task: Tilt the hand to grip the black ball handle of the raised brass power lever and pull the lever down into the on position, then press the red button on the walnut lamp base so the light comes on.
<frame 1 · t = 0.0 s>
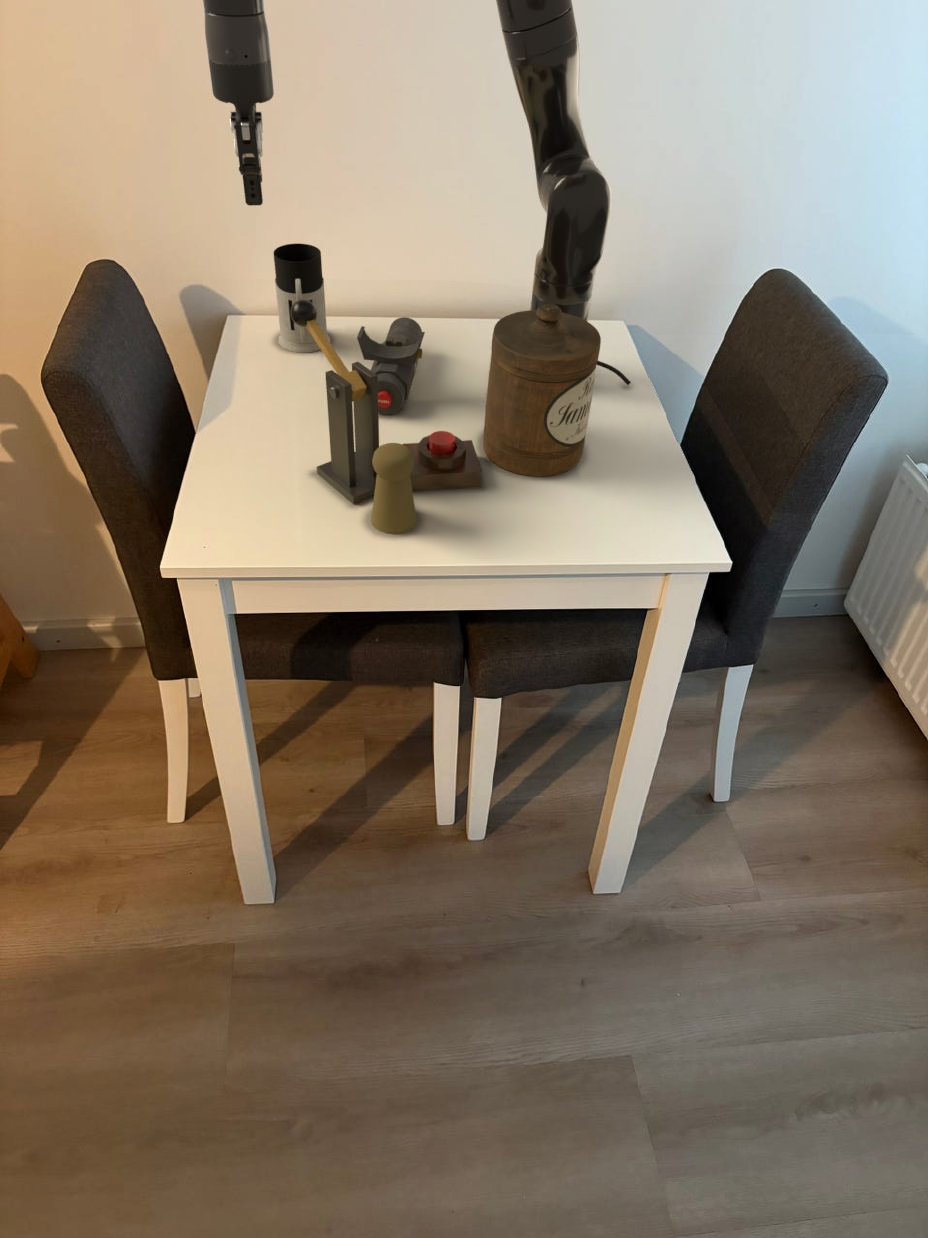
hand: (254, 193, 120), 29 cm above the table, tool pointing down, fingers open, 8 cm apart
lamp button: (442, 443, 122), point 5 cm above the table, slide at 0.1 cm
power lever: (327, 348, 114), point 17 cm above the table, hinge at 28.0°
glass holder: (304, 348, 151), on the table
wooden container: (532, 449, 132), on the table
laser sight: (395, 383, 144), on the table
switch bracket: (356, 480, 123), on the table
lamp base: (440, 473, 126), on the table
tan wooden game pawn: (393, 521, 118), on the table
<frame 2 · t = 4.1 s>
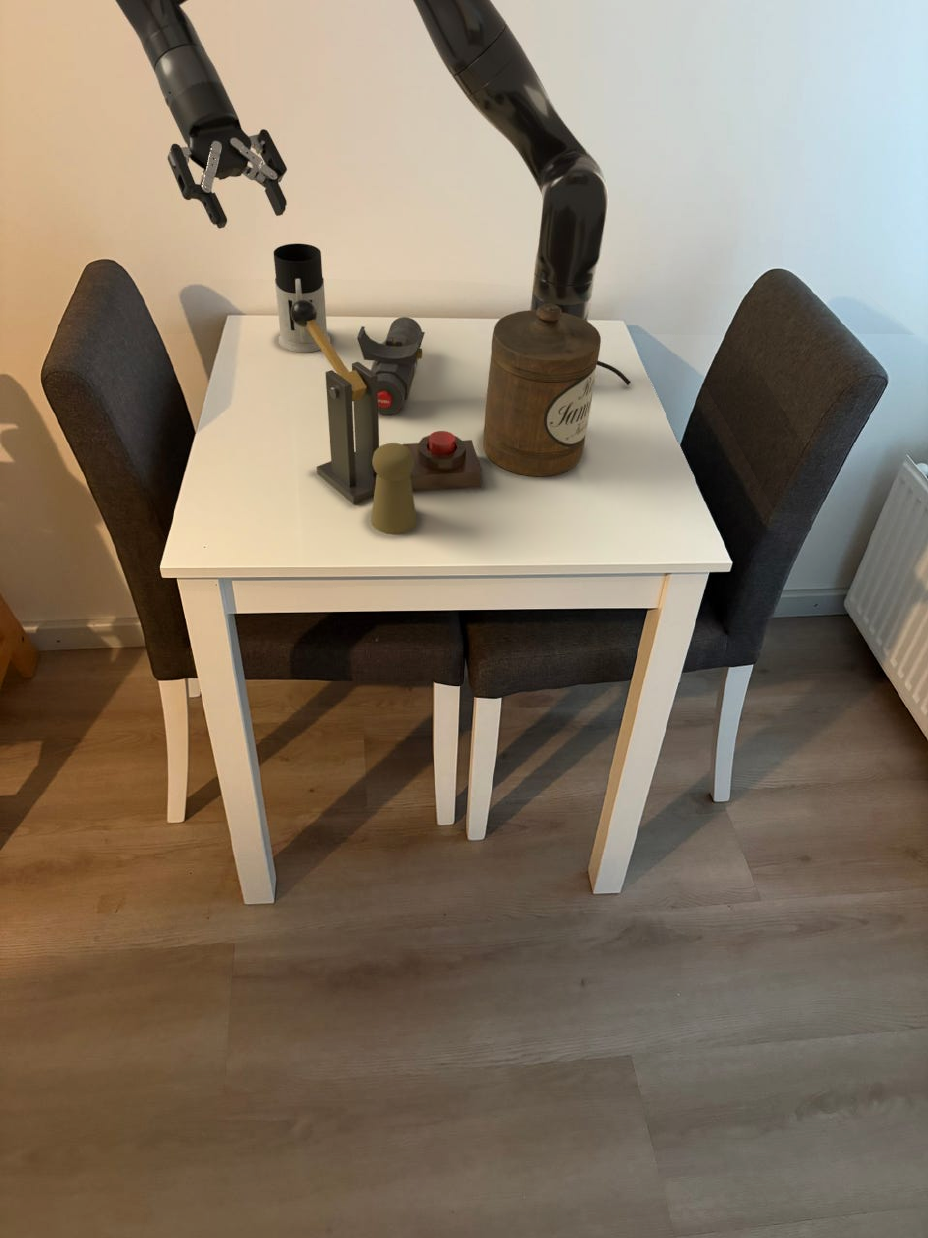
hand: (253, 218, 115), 29 cm above the table, tool tilted 45°, fingers open, 8 cm apart
nothing on the table moved.
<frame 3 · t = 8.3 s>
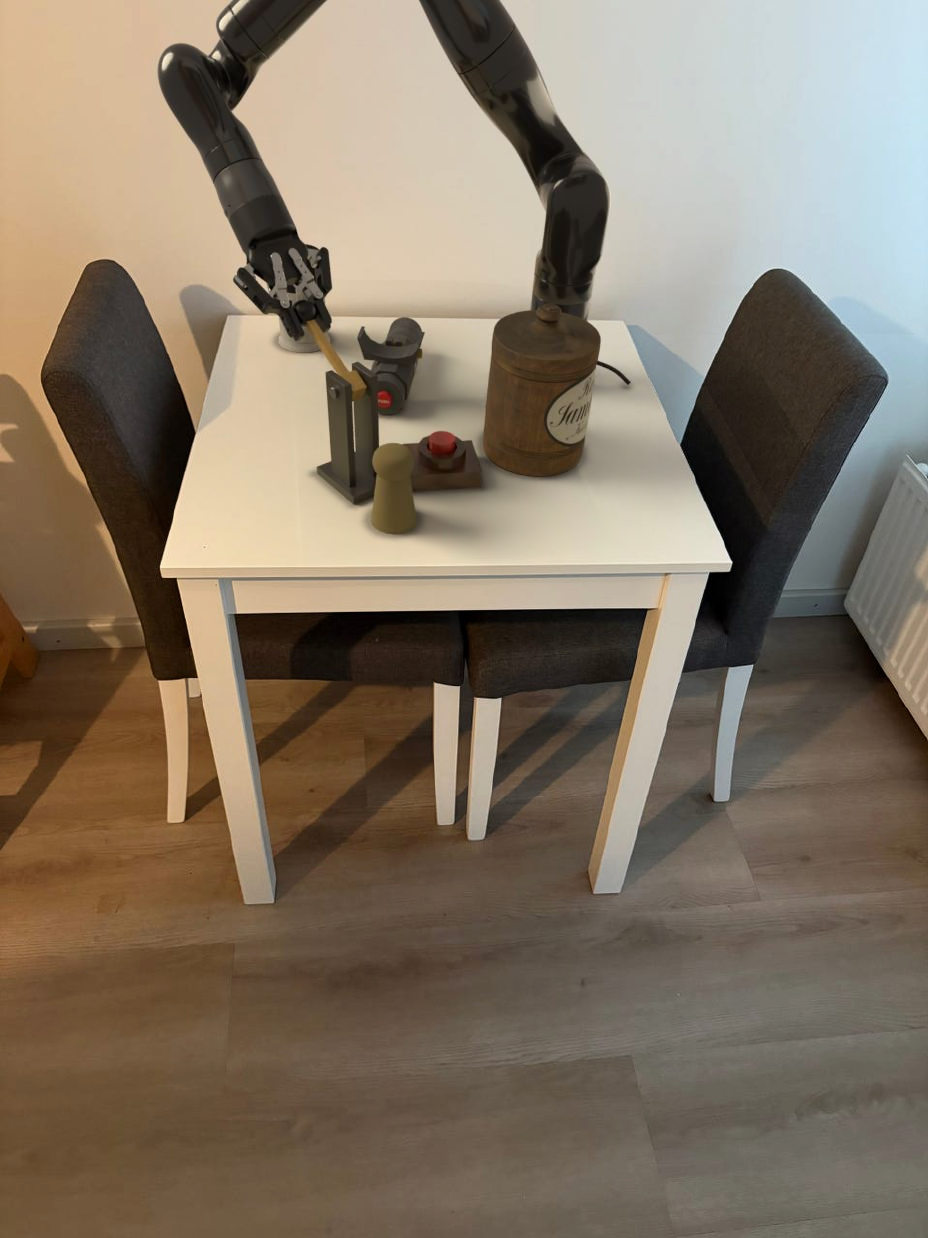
hand: (313, 333, 116), 18 cm above the table, tool tilted 45°, fingers closed on power lever, 3 cm apart
power lever: (327, 348, 114), point 17 cm above the table, hinge at 28.0°, touching gripper
everything else where it was.
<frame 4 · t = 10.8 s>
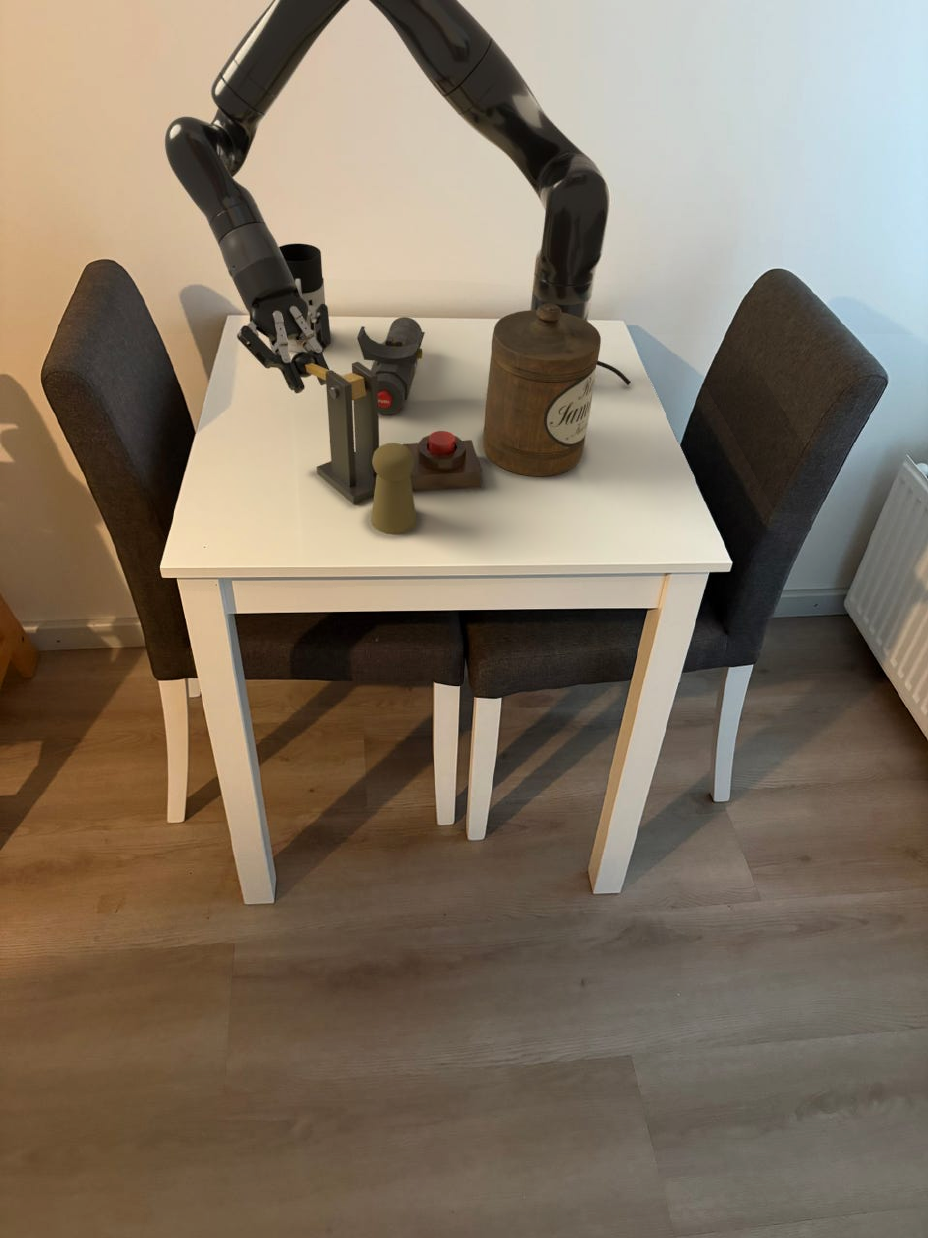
hand: (313, 386, 122), 10 cm above the table, tool tilted 45°, fingers closed on power lever, 3 cm apart
power lever: (326, 374, 117), point 13 cm above the table, hinge at -10.4°, touching gripper
everything else where it was.
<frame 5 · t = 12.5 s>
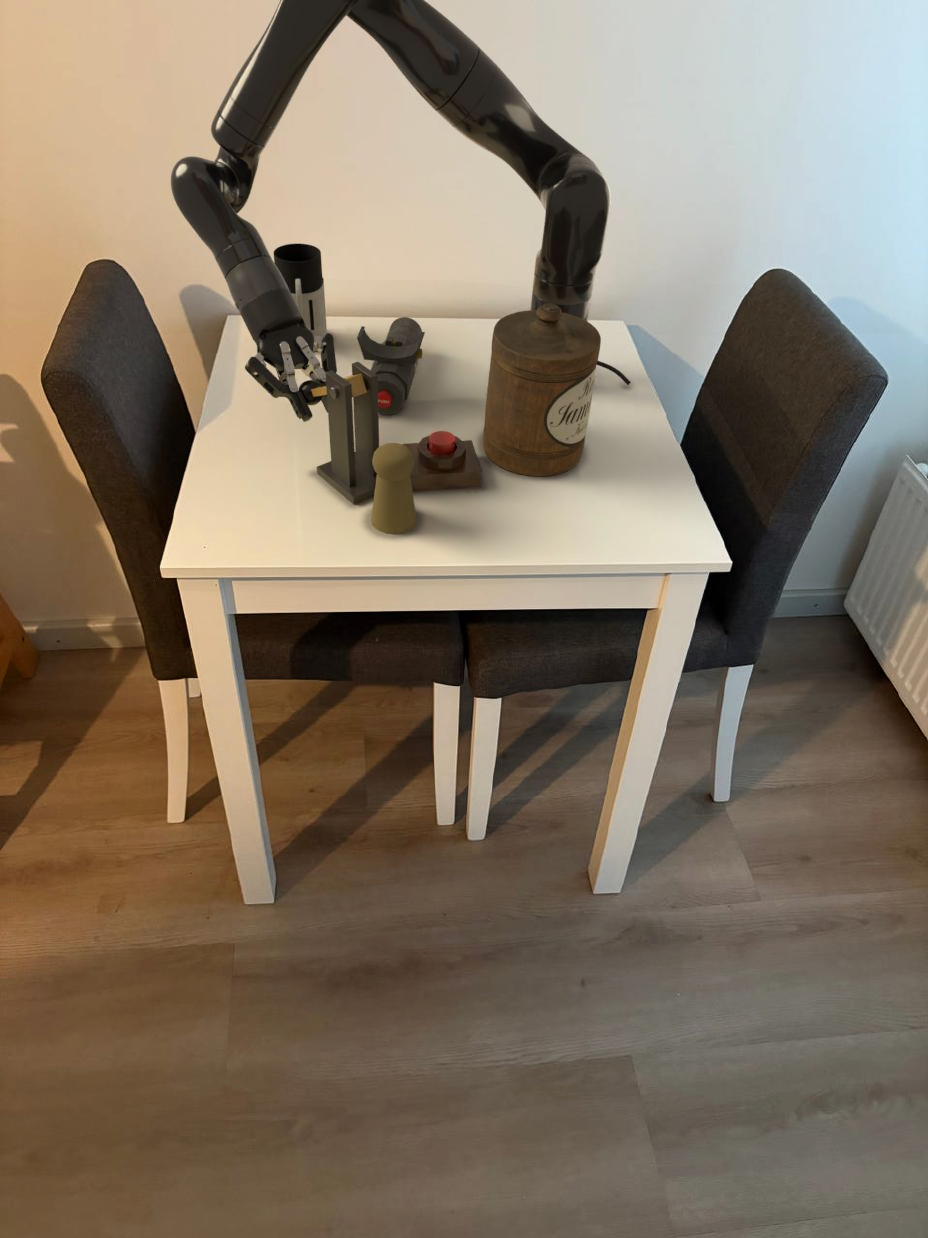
hand: (320, 414, 124), 6 cm above the table, tool tilted 45°, fingers closed on power lever, 3 cm apart
power lever: (329, 389, 118), point 12 cm above the table, hinge at -29.0°, touching gripper
everything else where it was.
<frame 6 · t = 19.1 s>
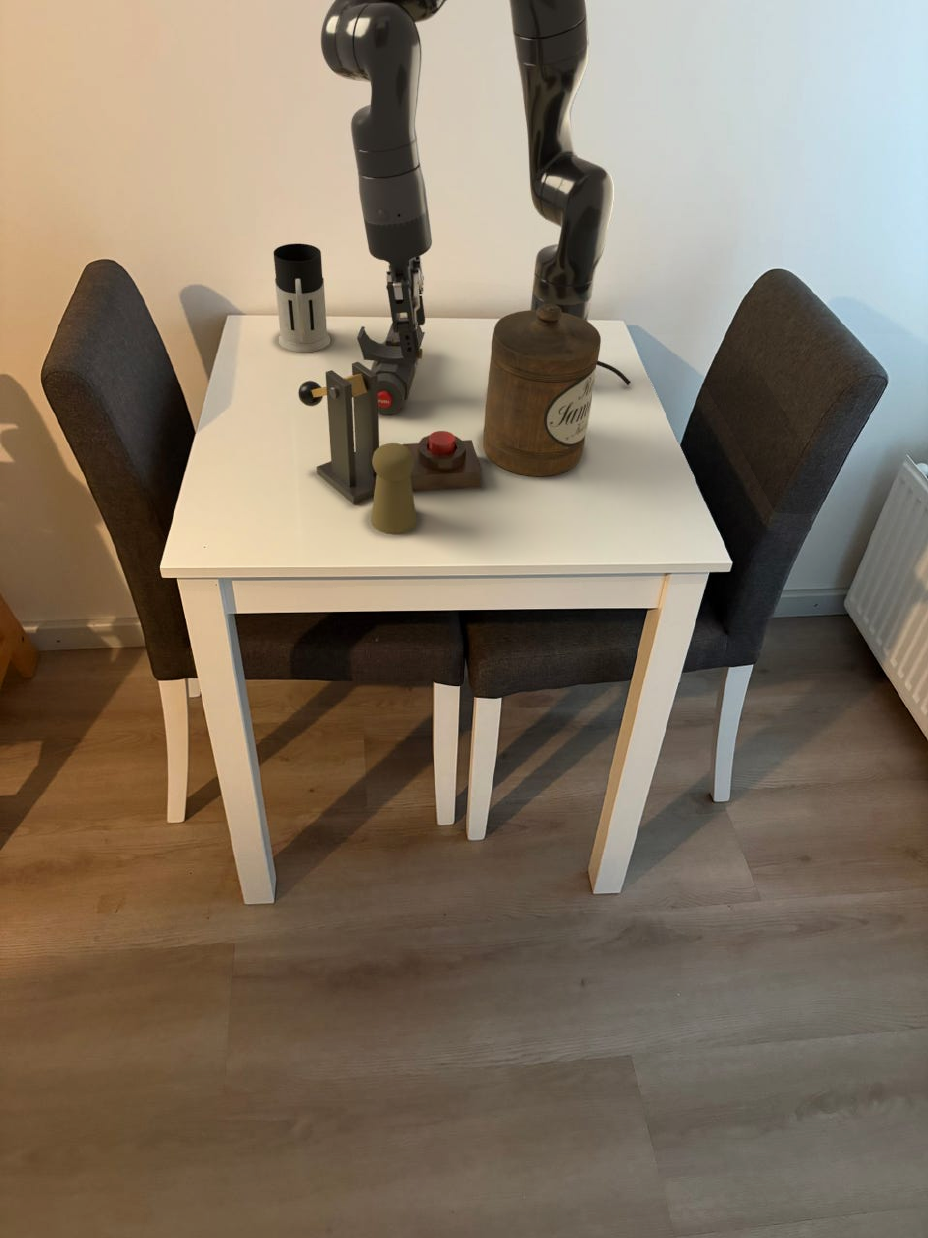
hand: (414, 339, 113), 19 cm above the table, tool pointing down, fingers open, 8 cm apart
power lever: (330, 390, 118), point 11 cm above the table, hinge at -29.5°
everything else where it was.
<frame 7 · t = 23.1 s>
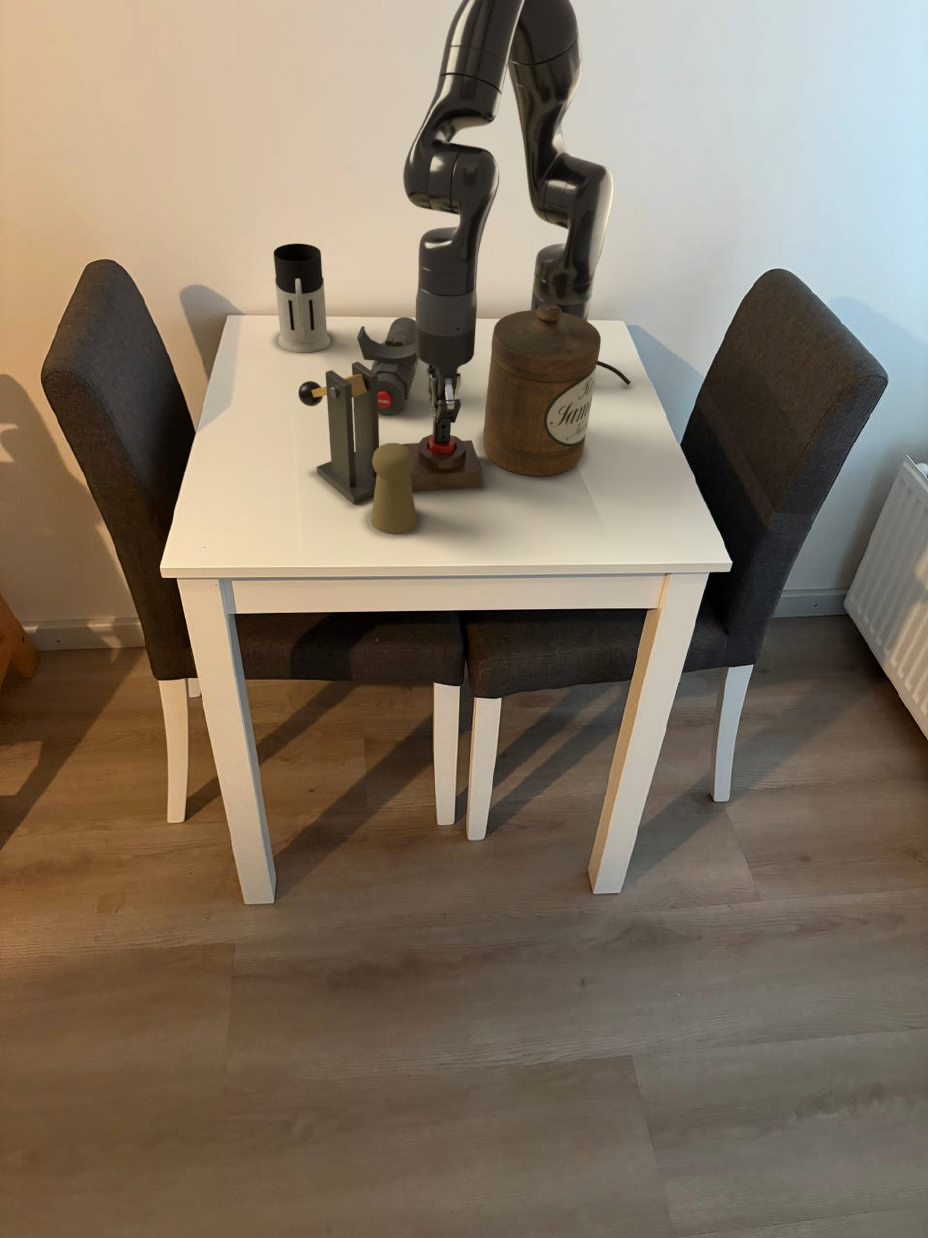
hand: (441, 440, 122), 5 cm above the table, tool pointing down, fingers closed
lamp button: (441, 445, 123), point 5 cm above the table, slide at -0.3 cm, touching gripper
everything else where it was.
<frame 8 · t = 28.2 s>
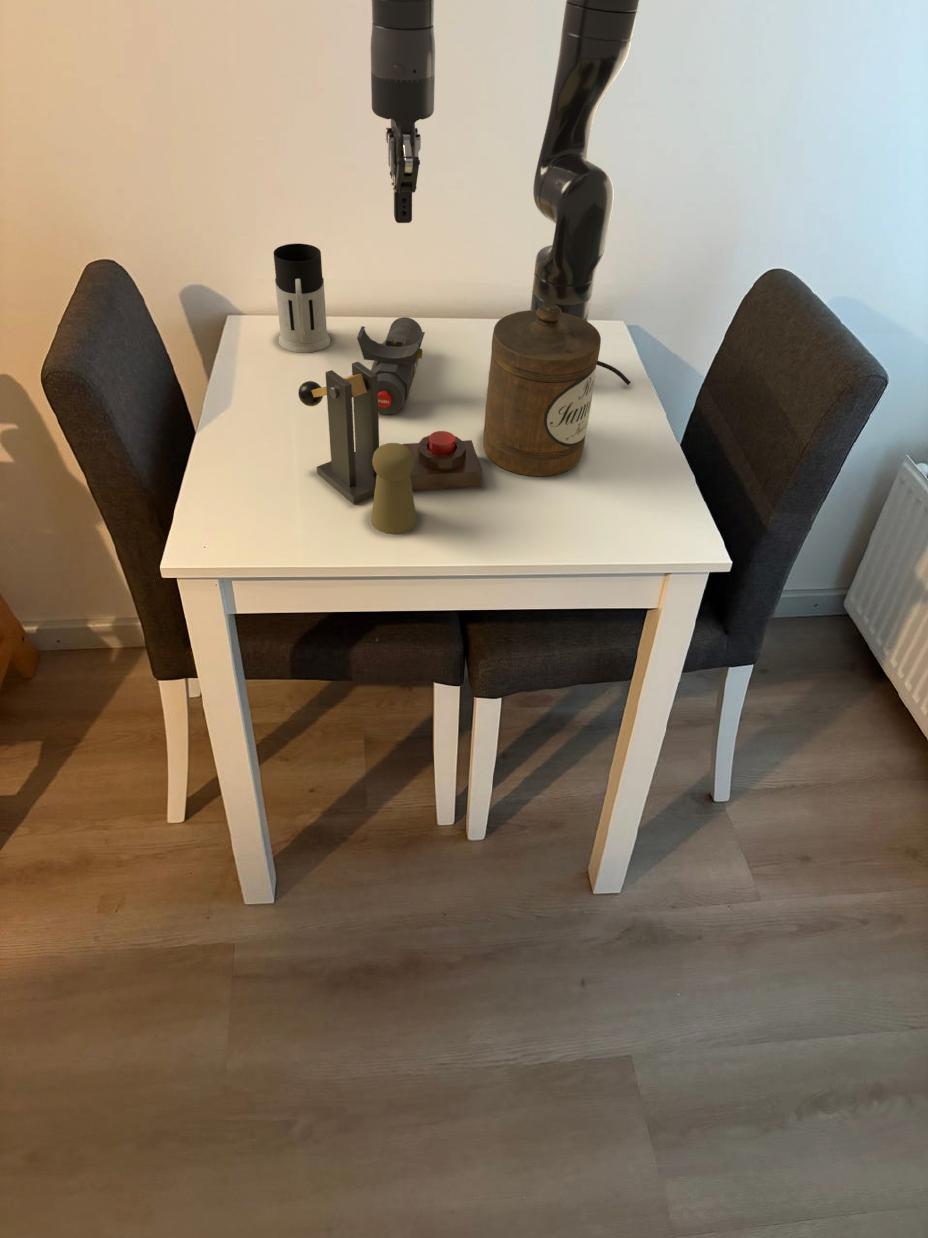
hand: (402, 220, 116), 29 cm above the table, tool pointing down, fingers closed
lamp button: (442, 443, 122), point 5 cm above the table, slide at 0.1 cm
everything else where it was.
at the end: power lever at -30° (first picture: +28°); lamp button pushed in 1.1 cm at the most during the clip, back to where it started at the end; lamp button slide at 0.1 cm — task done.
